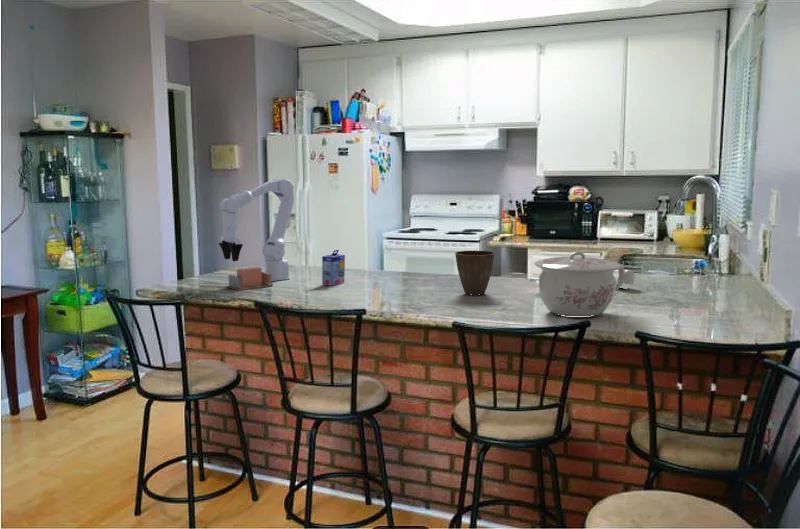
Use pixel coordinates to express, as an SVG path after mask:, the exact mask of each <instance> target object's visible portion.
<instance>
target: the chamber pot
mask: <svg viewBox="0 0 800 529" xmlns="http://www.w3.org/2000/svg"><path fill="white" fill-rule="evenodd" d="M534 265H535V266H536V267H538V268H540V269H541V272H540V274H539V275H538V288H539V289H538V290H539V296H540V299H541V300H542V302H543V303H544V305H545V307H546V308H547V310H548V311H549V312H550V313H553V314H554V313H555V315H557V314H559V315H565V316H591V315H597V314H600V313H602V314H603V313H604V312H605V311H606V310H607V309H608V307H609V306H610V305H611V303H612V302H613V300H614V296H615V293H616V292H617V291H618V290H620V289H619V288H620V286H621V285H622V284H623V282H624V279H625V270H626V269H625V268H624V266H623V265H622V264H621V263H620V262H619V261H618V262H614V261H612V260H608V259H603V258H600V257H599V258H597V257H590V256H586V254H584V253H583V252H581V251H574V252H572V254H570V256H557V257H556V256H555V257H548V258H544V259H543V258H542V259H539V260H537V261H535V262H534ZM624 269H625V270H624ZM614 270H618V272H619V276H618V280H617V282H616V280H615V278H614V276H613V274H612V273H613V271H614ZM559 315H558V316H559ZM600 315H601V314H600ZM597 316H598V315H597Z"/></svg>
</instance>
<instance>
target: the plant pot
mask: <svg viewBox="0 0 800 529" xmlns="http://www.w3.org/2000/svg"><path fill="white" fill-rule="evenodd" d="M454 253H455V254H454V255H455V262H456V268H457V272H458V276H459V281H460V283H461V285H462V288H463V291H464V294H465V293H466V294H472V295H477V296H480V295H479V294H484V293H486V292H487V291H486V290H487V288H488V285H489V282H490V278H491V276H492V271H493V266H494V259H495V253H496V252H493V251H488V250H461V251H455V252H454ZM466 294H465V295H466ZM472 295H471V296H472ZM484 295H485V294H484Z"/></svg>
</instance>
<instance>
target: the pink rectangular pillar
mask: <svg viewBox="0 0 800 529" xmlns="http://www.w3.org/2000/svg"><path fill="white" fill-rule="evenodd" d="M262 272H263V271H262V267H259V266H253V267H244V268H243V267H242V268H237V269H236V276H237V277H241V287H248V286H256V285H262Z"/></svg>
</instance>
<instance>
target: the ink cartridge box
mask: <svg viewBox="0 0 800 529" xmlns="http://www.w3.org/2000/svg"><path fill="white" fill-rule="evenodd" d="M339 251H340V249H335V250H333V251H332V253H331V254H326V255H323V256H322V258H321V262H322V264H321V265H322V266H321V269H322V270H321V271H322V273H321V275H322V276H321V277H322V278H321V280H322V281H321V282H322V285H323V286H329V287H333V286H337V285H340V284H344V283H345V276H346V275H345V274H346V273H345V266H346V265H345V261H346V256H345V254H341V253H339Z"/></svg>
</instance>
